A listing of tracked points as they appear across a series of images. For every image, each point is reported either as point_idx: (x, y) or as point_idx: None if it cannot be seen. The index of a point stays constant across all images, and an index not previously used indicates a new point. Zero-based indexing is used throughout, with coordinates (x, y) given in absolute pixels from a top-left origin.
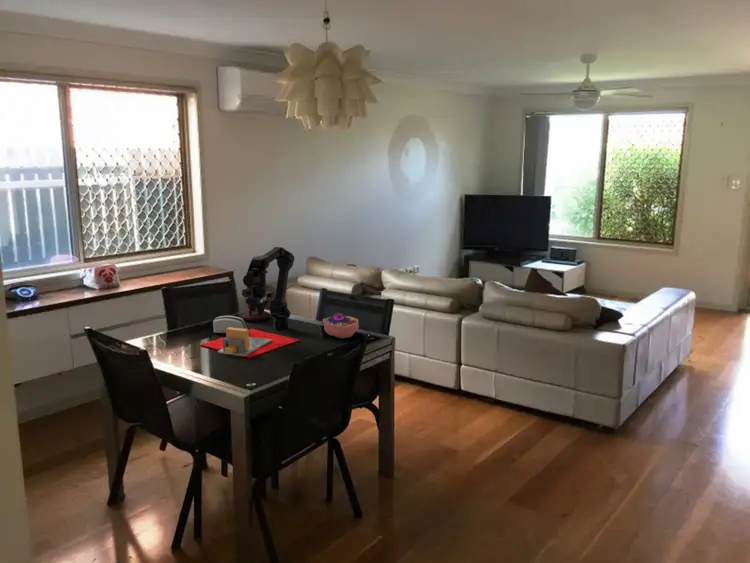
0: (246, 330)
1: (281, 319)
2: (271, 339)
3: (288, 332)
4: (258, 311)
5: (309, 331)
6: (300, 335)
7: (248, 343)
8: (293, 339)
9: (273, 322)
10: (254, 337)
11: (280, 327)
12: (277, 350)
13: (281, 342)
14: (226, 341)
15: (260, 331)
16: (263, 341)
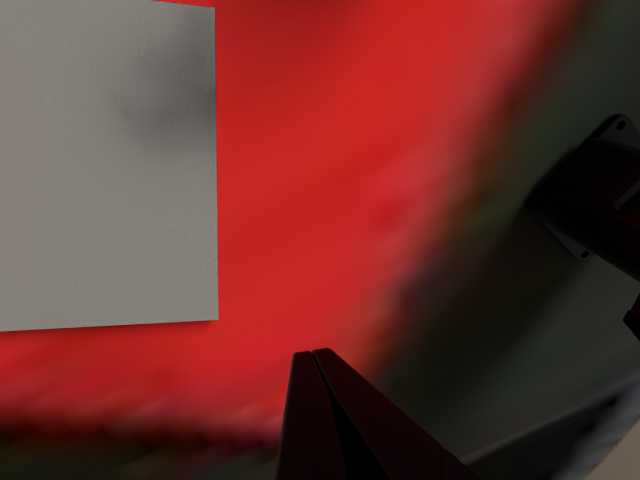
0: None
1: (630, 268)
2: (213, 317)
3: (484, 295)
4: (284, 434)
5: (511, 392)
6: (419, 393)
7: None
8: None
9: (631, 161)
10: (210, 130)
11: (565, 219)
12: (17, 450)
13: (221, 377)
14: None
15: (506, 37)
16: (120, 289)
